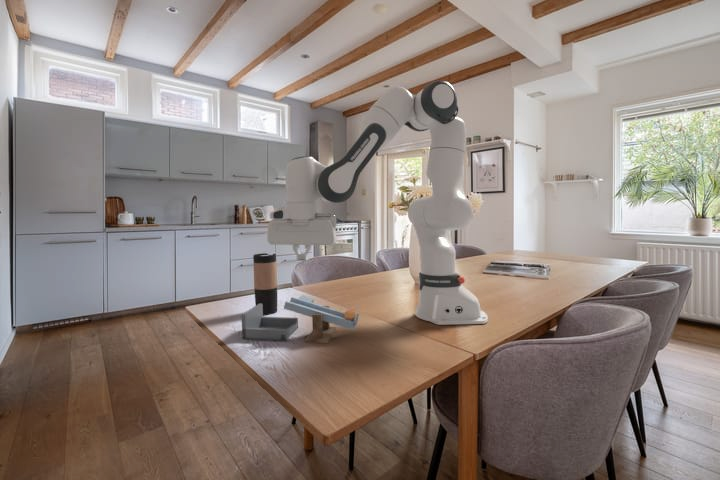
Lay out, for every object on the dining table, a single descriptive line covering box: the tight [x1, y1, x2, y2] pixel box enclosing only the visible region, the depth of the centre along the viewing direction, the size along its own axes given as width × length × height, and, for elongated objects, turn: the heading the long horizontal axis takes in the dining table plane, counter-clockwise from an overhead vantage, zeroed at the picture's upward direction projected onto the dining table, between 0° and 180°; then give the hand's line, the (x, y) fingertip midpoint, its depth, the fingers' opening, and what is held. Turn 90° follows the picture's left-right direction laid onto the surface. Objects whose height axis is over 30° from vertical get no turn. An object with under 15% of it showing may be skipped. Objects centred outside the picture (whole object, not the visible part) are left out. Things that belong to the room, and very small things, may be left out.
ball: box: [343, 309, 357, 321], centre depth 95 cm, size 3×3×3 cm
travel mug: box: [252, 252, 278, 316], centre depth 119 cm, size 8×8×20 cm
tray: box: [240, 304, 299, 342], centre depth 99 cm, size 12×11×7 cm
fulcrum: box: [305, 305, 337, 344], centre depth 96 cm, size 6×10×7 cm, turn 171°
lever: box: [283, 295, 360, 331], centre depth 99 cm, size 20×12×3 cm, turn 82°
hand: (302, 260), depth 102 cm, fingers closed
